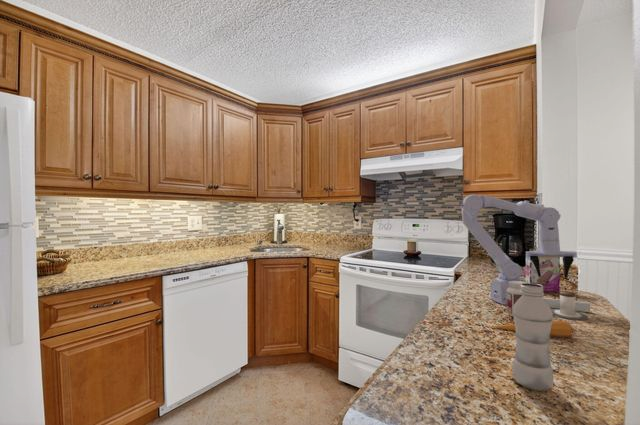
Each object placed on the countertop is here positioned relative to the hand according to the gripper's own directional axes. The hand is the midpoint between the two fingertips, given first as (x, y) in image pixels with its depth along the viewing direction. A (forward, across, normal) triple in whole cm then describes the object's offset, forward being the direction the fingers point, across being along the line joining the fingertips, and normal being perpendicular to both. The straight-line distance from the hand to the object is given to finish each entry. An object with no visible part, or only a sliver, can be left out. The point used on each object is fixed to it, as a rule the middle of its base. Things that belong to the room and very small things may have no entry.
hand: (552, 276), depth 107 cm
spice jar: (+10, -2, +10) cm, 14 cm away
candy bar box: (+11, +1, -22) cm, 25 cm away
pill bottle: (+10, +12, +19) cm, 24 cm away
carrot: (+10, +10, +33) cm, 36 cm away
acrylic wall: (+10, -2, +3) cm, 11 cm away
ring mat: (+10, -2, +10) cm, 15 cm away
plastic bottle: (+9, +12, +65) cm, 66 cm away
